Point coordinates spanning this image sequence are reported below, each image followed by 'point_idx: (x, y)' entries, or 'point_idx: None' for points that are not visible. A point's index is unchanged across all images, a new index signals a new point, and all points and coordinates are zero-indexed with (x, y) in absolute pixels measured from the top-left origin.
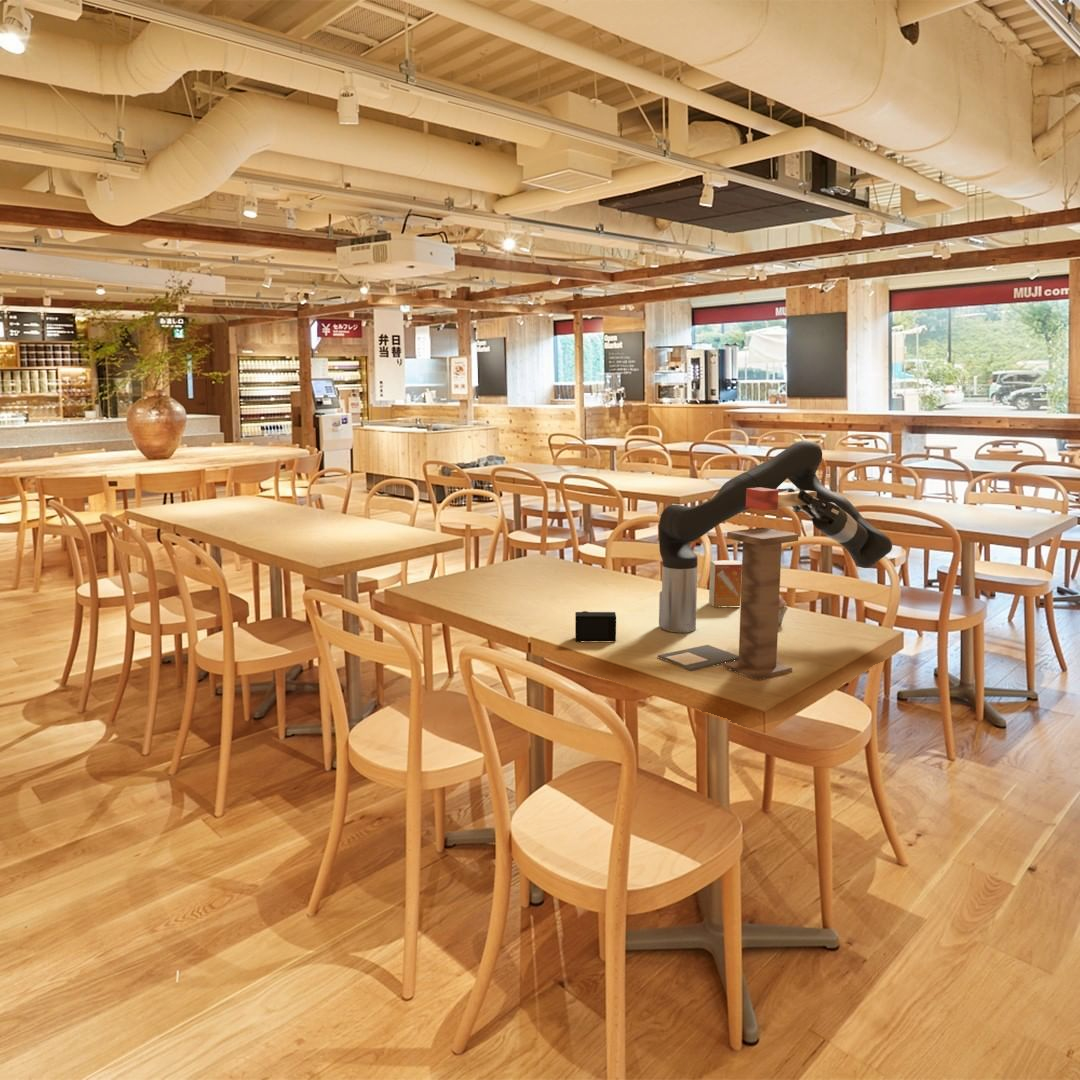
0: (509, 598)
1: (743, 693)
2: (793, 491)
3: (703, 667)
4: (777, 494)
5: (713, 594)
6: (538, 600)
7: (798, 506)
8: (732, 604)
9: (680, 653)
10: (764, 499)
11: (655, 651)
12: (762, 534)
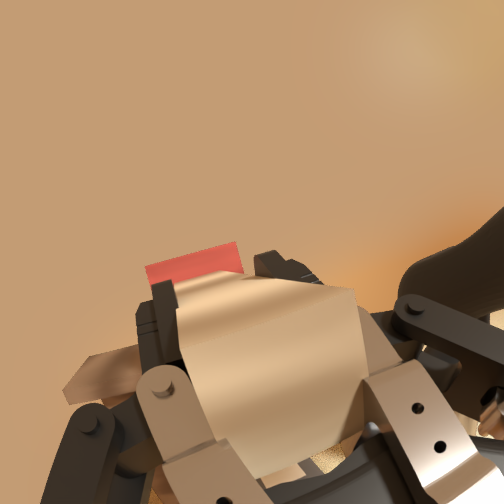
0: (493, 314)
1: (155, 495)
2: (265, 275)
3: None
4: (150, 282)
5: None
6: (500, 325)
7: (477, 403)
8: None
9: (304, 467)
10: None
11: (328, 448)
12: (113, 359)
